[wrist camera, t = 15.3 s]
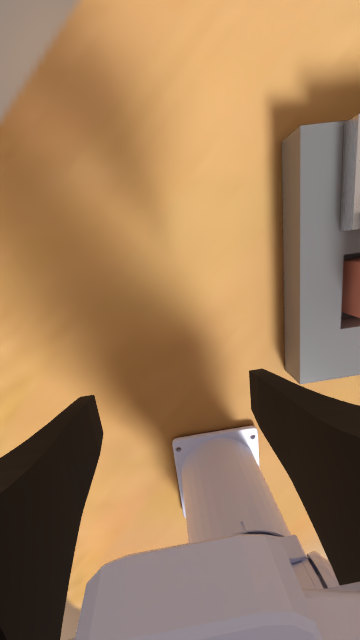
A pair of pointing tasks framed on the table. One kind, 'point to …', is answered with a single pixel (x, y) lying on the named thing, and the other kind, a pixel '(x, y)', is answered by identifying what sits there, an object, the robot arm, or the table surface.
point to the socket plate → (316, 257)
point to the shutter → (351, 176)
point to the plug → (351, 287)
